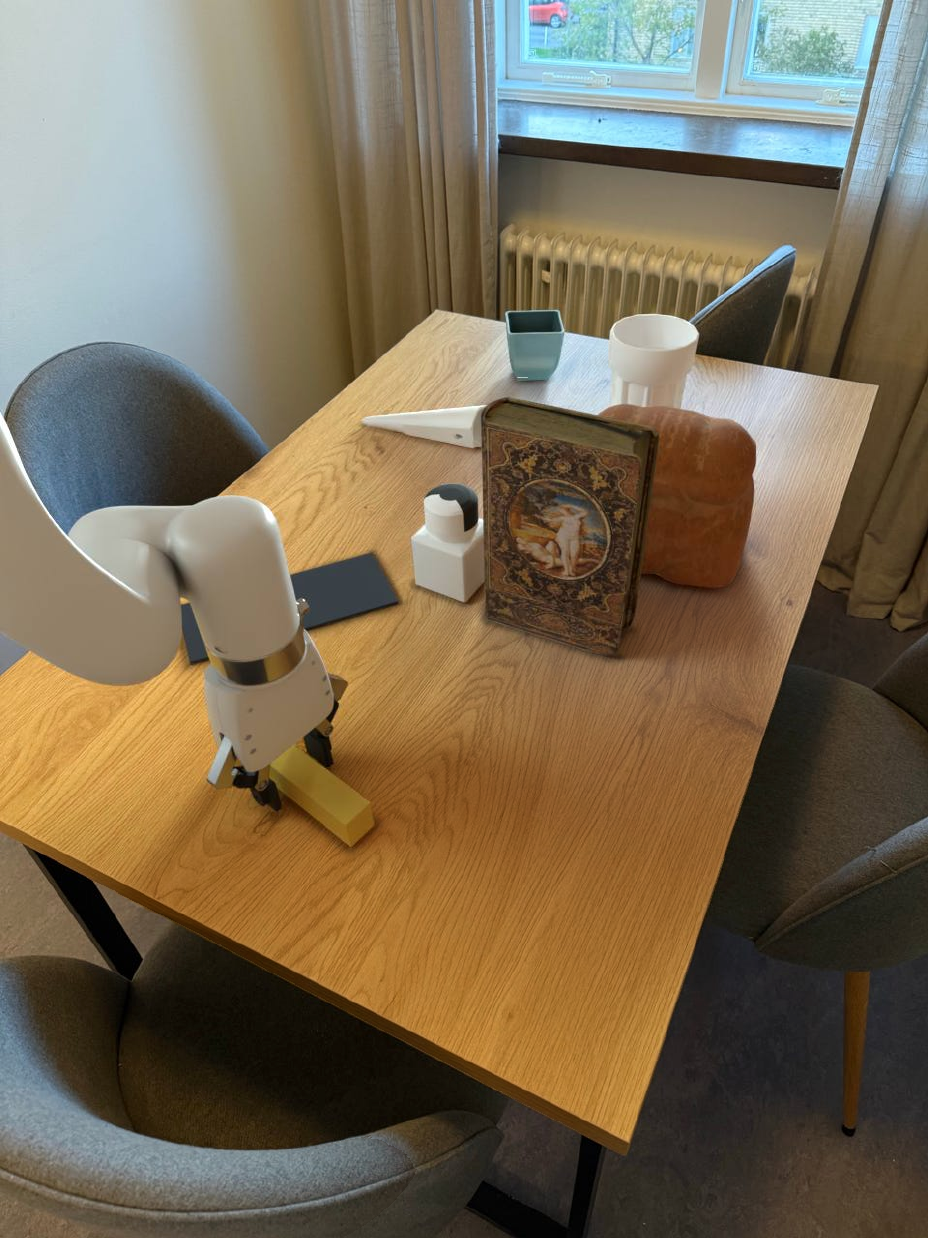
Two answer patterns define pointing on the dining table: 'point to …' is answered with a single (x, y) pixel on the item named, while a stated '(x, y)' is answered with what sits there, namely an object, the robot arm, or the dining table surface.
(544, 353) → the flower pot
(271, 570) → the robot arm
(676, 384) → the cup
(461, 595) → the medicine bottle
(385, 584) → the mat
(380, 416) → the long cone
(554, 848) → the dining table surface
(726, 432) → the bread
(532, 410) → the book
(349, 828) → the yellow disc-ended bar
